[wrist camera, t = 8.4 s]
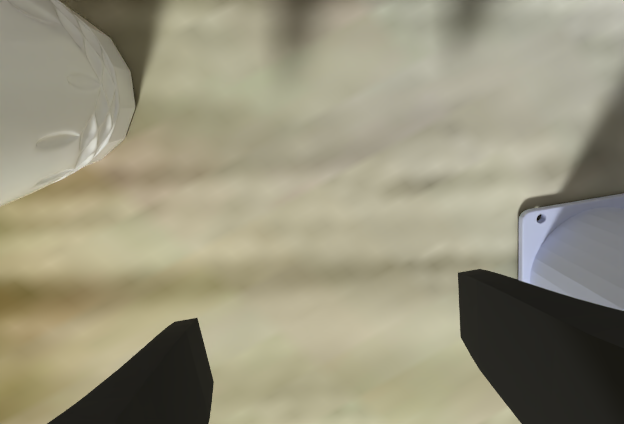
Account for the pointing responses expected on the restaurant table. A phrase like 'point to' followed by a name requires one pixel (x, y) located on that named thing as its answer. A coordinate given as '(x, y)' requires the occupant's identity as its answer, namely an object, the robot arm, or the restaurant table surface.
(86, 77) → the white cup
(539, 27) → the restaurant table surface
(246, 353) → the restaurant table surface
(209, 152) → the restaurant table surface
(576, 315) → the robot arm
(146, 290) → the restaurant table surface
